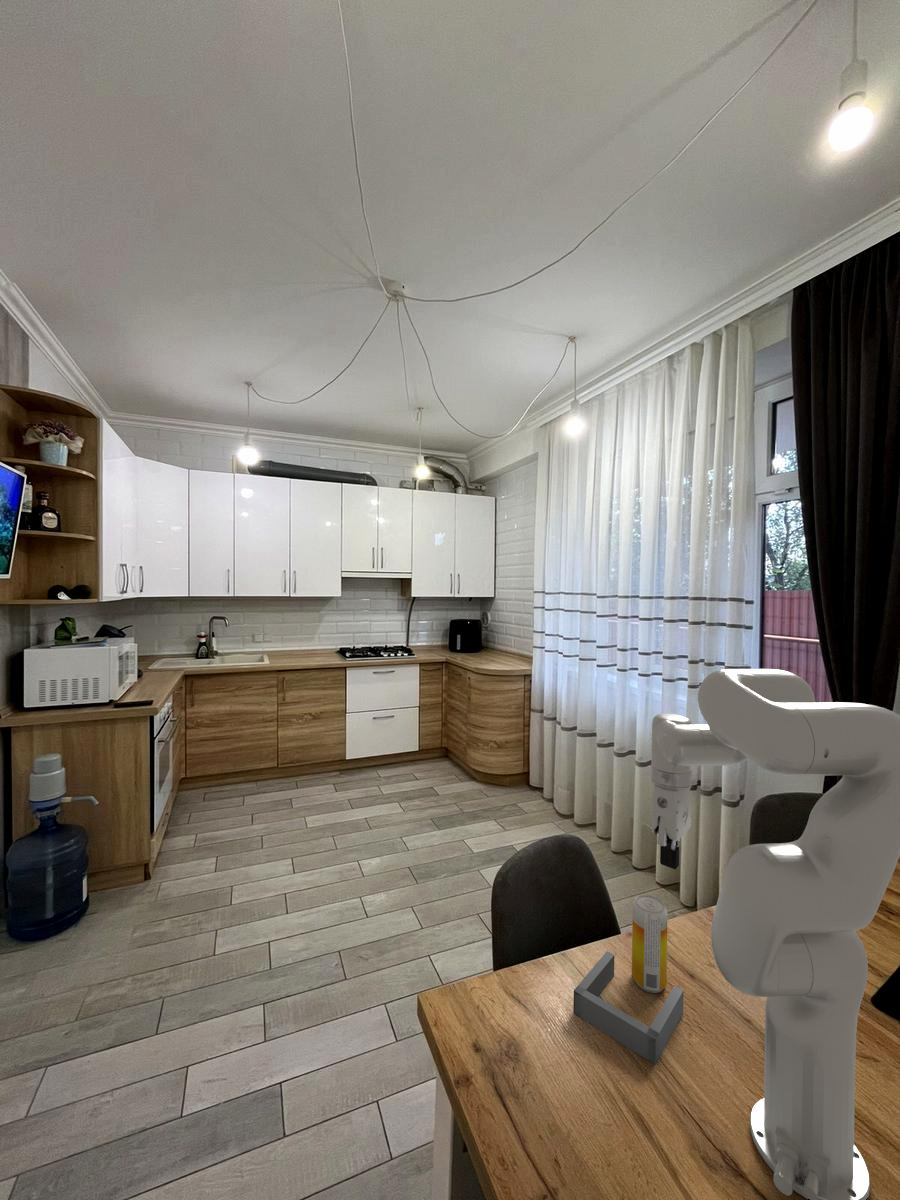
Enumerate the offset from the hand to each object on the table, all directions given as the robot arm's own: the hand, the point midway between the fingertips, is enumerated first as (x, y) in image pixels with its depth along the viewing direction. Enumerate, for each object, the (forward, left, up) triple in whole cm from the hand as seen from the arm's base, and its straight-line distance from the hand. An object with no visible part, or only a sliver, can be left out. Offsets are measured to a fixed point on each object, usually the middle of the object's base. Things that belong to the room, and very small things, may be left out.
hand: (669, 865), depth 102 cm
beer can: (-11, 0, -18) cm, 21 cm away
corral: (-20, 0, -18) cm, 27 cm away
